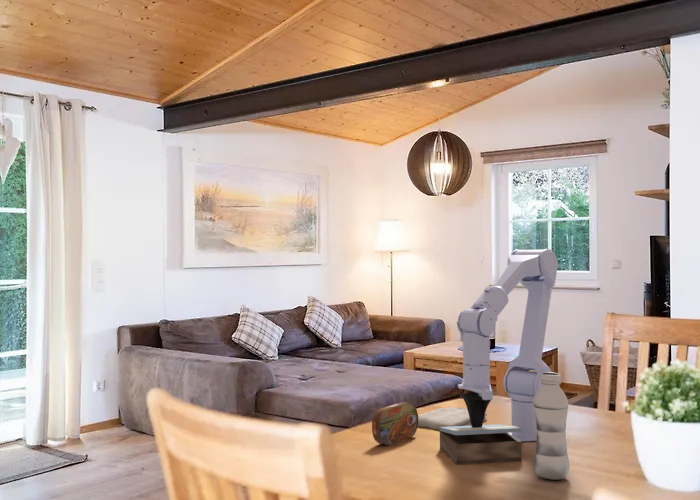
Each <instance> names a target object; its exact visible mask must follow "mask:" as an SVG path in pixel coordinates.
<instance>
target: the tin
mask: <svg viewBox="0 0 700 500" xmlns="http://www.w3.org/2000/svg"><path fill="white" fill-rule="evenodd" d="M418 415H419V413H418V409H417V407H416V406H415V405H414V404H413V403H411V402H398V403H394V404H391V405H388V406H385V407H381V408H378V409H377V410H376V411H375V413H374V415H373V416H372V421H371V433H372V437H373V439H374V441H375V442H376V443H378V444H380V445H385V446H393V445H396V444H398V443H401V442H404V441H407V440H410V439H412V438H413V437H414V436H415V434H416V433H417V430H418V427H419V426H418Z"/></svg>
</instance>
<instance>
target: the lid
mask: <svg viewBox="0 0 700 500" xmlns="http://www.w3.org/2000/svg"><path fill="white" fill-rule="evenodd" d="M440 431H442V432H446V433H450V434H453V435H473V434H493V433H513V432H521V428H518V427H515V426H512V425H505V424H499V423H498V424H495V423H494V424H483V425H482V427H474V428H473V427H472V426H452V427H440V430H439V432H440Z"/></svg>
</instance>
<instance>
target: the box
mask: <svg viewBox="0 0 700 500" xmlns="http://www.w3.org/2000/svg"><path fill="white" fill-rule="evenodd" d="M522 443H523V441H520V440H518V439H517V438H515V437H513V436H512V435H510V434H509V433H493V434H473V435H453V434H450V433H446V432H442V431H440V430H439V450H440V451H441V452H442V453H443V454H445V455H446V457H448V458H449V459H450V461H452V462H453V463H455V465H459V466H461V465H475V464H491V463H492V464H493V463H494V464H495V463H509V462H510V463H511V462H522V461H523V460H522V459H523V457H522V455H523V454H522V453H523V451H522V449H523V448H522V446H523V445H522Z"/></svg>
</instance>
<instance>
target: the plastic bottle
mask: <svg viewBox="0 0 700 500" xmlns="http://www.w3.org/2000/svg"><path fill="white" fill-rule="evenodd" d="M561 377H562V376H561V373H558V372H553V371H551V372H544V373H541V380H540V383H541V384H542V385H541V387H540V388H539V390H538V391H537V392H536V394H535V395H534V398H533V406H534V412H535V419H536V428H537V430H536V432H537V439H536V441H535V443H536V444H535V452H534V458H533V468H534V472H535V473H536V475H537V476H538V477H539V478H542V479H546V480H547V479H548V480H552V481H553V480H556V481H557V480H564V479H567V477H568V476H569V473H570V467H571V465H570V458H569V454H568V448H567V447H568V446H567V438H566V436H567V435H566V434H567V432H566V430H567V417H568V410H569V400H568V396H567V395H566V394H565V392H564V390H563V389H562V388H561V387H560V385H562V381H561Z"/></svg>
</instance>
